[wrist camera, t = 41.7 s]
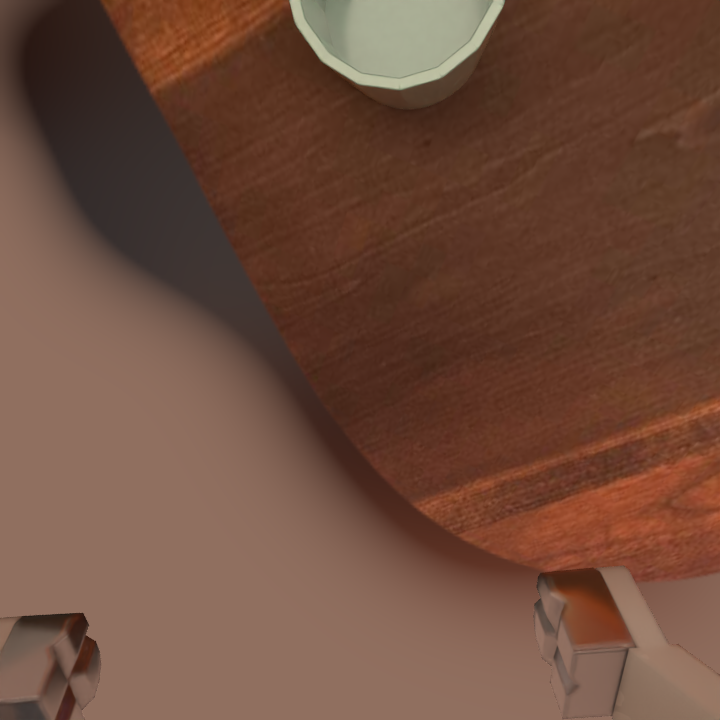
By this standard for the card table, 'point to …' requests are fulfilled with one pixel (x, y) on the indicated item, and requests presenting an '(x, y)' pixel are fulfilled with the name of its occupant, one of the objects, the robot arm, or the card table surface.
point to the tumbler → (399, 44)
